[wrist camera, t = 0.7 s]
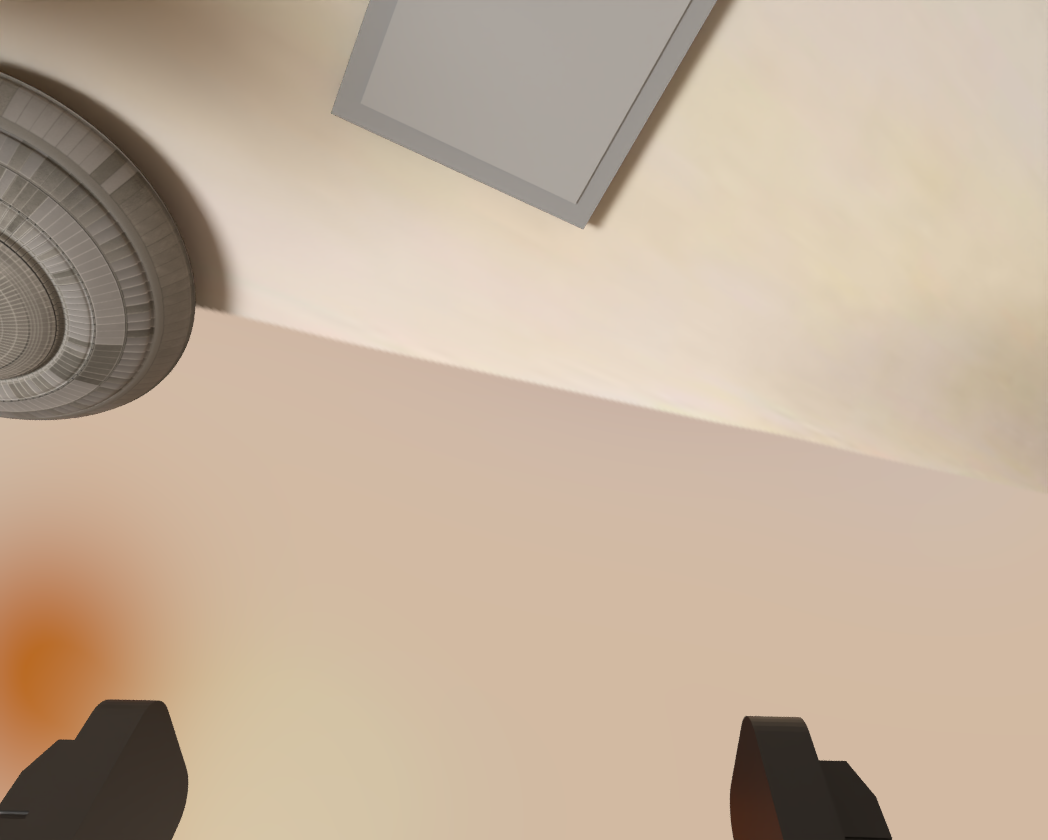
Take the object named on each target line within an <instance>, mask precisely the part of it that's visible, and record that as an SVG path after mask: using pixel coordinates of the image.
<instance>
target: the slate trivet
mask: <svg viewBox="0 0 1048 840" xmlns="http://www.w3.org/2000/svg"><path fill="white" fill-rule="evenodd" d="M716 1H717V0H370V1H369V4H368V7H367V10H366V13H365V16H364V19H363V22H362V24H361V27H360V30H359V33H358V36H357V39H356V42H355V45H354V48H353V51H352V53H351V56H350V59H349V62H348V65H347V68H346V71H345V74H344V77H343V80H342V82H341V85H340V88H339V91H338V94H337V97H336V100H335V103H334V106H333V109H332V111H331V114H333V115H335V116H338V117H340V118H342V119H344V120H346V121H348V122H351V123H353V124H355V125H357V126H359V127H361V128H364V129H366V130H368V131H370V132H372V133H375V134H377V135H379V136H381V137H383V138H385V139H388V140H390V141H392V142H394V143H396V144H398V145H401V146H403V147H405V148H407V149H409V150H412V151H414V152H416V153H418V154H420V155H422V156H425V157H427V158H429V159H431V160H433V161H435V162H438V163H440V164H442V165H444V166H446V167H449V168H451V169H453V170H455V171H457V172H459V173H462V174H464V175H466V176H468V177H470V178H472V179H475V180H477V181H479V182H481V183H483V184H486V185H488V186H490V187H492V188H494V189H496V190H499V191H501V192H503V193H505V194H507V195H509V196H512V197H514V198H516V199H518V200H520V201H523V202H525V203H527V204H529V205H531V206H533V207H536V208H538V209H540V210H542V211H544V212H546V213H549V214H551V215H553V216H555V217H557V218H560V219H562V220H564V221H566V222H568V223H570V224H573V225H575V226H577V227H579V228H581V229H584V227H585V226H586V224H587V222H588V221H589V219H590V217H591V215H592V214H593V212H594V210H595V209H596V207H597V205H598V203H599V202H600V200H601V198H602V197H603V195H604V193H605V191H606V190H607V188H608V186H609V185H610V183H611V181H612V179H613V178H614V176H615V174H616V173H617V171H618V169H619V167H620V166H621V164H622V162H623V161H624V159H625V157H626V155H627V154H628V152H629V150H630V149H631V147H632V145H633V143H634V142H635V140H636V138H637V137H638V135H639V133H640V131H641V130H642V128H643V126H644V125H645V123H646V121H647V119H648V118H649V116H650V114H651V113H652V111H653V109H654V107H655V106H656V104H657V102H658V101H659V99H660V97H661V95H662V94H663V92H664V90H665V89H666V87H667V85H668V83H669V82H670V80H671V78H672V77H673V75H674V73H675V71H676V70H677V68H678V66H679V65H680V63H681V61H682V59H683V58H684V56H685V54H686V53H687V51H688V49H689V47H690V46H691V44H692V42H693V41H694V39H695V37H696V35H697V34H698V32H699V30H700V29H701V27H702V25H703V24H704V22H705V20H706V18H707V17H708V15H709V13H710V12H711V10H712V8H713V6H714V5H715V3H716Z"/></svg>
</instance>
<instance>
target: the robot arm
mask: <svg viewBox="0 0 1048 840" xmlns="http://www.w3.org/2000/svg"><path fill="white" fill-rule="evenodd" d="M187 792H188V774H187V769H186V766H185V762H184V759H183V756H182V753H181V750H180V747H179V743H178V740H177V737H176V734H175V731H174V728H173V724H172V721H171V718H170V715H169V712H168V709H167V707H166V705H165V704H164V703H163V702H162V701H150V700H105V701H103V702H101V703H100V704H99V705H98V706H97V707H96V708H95V709H94V711H93V712H92V713H91V715H90V716H89V718H88V720H87V721H86V723H85V724H84V726H83V728H82V729H81V731H80V732H79V734H78V735H77V737H76V739H75V740H58V741H56V742H55V743H54V744H53V745H52V746H51V747H50V748H48V750H46V751H45V752H44V753H43V754H42V755H40V756H39V757H38V758H37V759H36V760H35V761H34V762H33V763H31V764H30V765H29V766H28V767H27V768H26V769H25V770H23V771H22V772H21V774H20V775H19V777H18V778H17V780H16V781H15V783H14V784H13V786H12V788H11V789H10V790H9V791H8V793H7V794H6V796H5V797H4V799H3V800H2V802H1V803H0V840H172V838H173V835H174V833H175V831H176V829H177V827H178V824H179V822H180V819H181V817H182V814H183V811H184V808H185V804H186V799H187ZM730 814H731V825H732V832H733V838H734V840H892V837H891V834H890V832H889V829H888V826H887V824H886V822H885V819H884V816H883V814H882V811H881V809H880V806H879V804H878V801H877V798H876V796H875V795H874V794H873V793H872V792H871V790H870V789H869V788H868V787H867V786H866V784H865V783H864V782H863V781H862V780H861V778H860V777H859V776H858V775H857V774H856V772H855V771H854V770H853V769H852V768H851V767H850V765H849V764H848V763H847V762H846V761H820V760H818V757H817V754H816V751H815V748H814V745H813V742H812V739H811V736H810V733H809V730H808V728H807V726H806V724H805V722H804V721H803V719H802V718H799V717H761V716H746V717H744V719H743V721H742V726H741V731H740V737H739V743H738V748H737V754H736V760H735V765H734V771H733V776H732V783H731V789H730Z"/></svg>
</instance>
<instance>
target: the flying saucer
mask: <svg viewBox="0 0 1048 840" xmlns="http://www.w3.org/2000/svg"><path fill="white" fill-rule="evenodd" d="M194 314H195V286H194V278H193V273H192V268H191V264H190V260H189V257H188V253H187V250H186V248H185V245H184V242H183V240H182V237H181V235H180V233H179V230H178V228H177V226H176V224H175V222H174V220H173V218H172V217H171V215H170V213H169V211H168V210H167V208H166V206H165V205H164V203H163V201H162V200H161V198H160V197H159V195H158V194H157V192H156V191H155V190H154V188H153V187H152V186H151V184H150V183H149V181H148V180H147V179H146V178H145V177H144V175H143V174H142V173H141V172H140V170H139V169H138V168H137V167H136V166H135V165H134V164H133V163H132V161H131V160H130V159H129V158H128V157H127V156H126V155H125V154H124V153H123V152H122V151H121V150H120V149H119V148H118V147H117V146H116V145H115V144H114V143H112V142H111V141H110V140H109V139H108V138H107V137H106V136H105V135H104V134H102V133H101V132H100V131H99V130H98V129H96V128H95V127H94V126H93V125H91V124H90V123H89V122H87V121H86V120H85V119H83V118H82V117H81V116H79V115H78V114H77V113H75V112H74V111H72V110H71V109H69V108H68V107H66V106H65V105H63V104H62V103H60V102H59V101H57V100H55V99H54V98H52V97H50V96H49V95H47V94H45V93H43V92H42V91H40V90H38V89H36V88H34V87H32V86H30V85H28V84H26V83H24V82H22V81H20V80H18V79H16V78H14V77H11V76H9V75H7V74H4V73H2V72H0V417H4V418H12V419H24V420H57V419H69V418H77V417H83V416H89V415H93V414H98V413H101V412H105V411H108V410H111V409H114V408H117V407H119V406H122V405H125V404H127V403H129V402H131V401H133V400H135V399H137V398H139V397H141V396H142V395H144V394H145V393H147V392H149V391H150V390H151V389H153V388H154V387H155V386H157V385H158V384H159V383H160V382H161V381H162V380H163V379H164V378H165V377H166V376H167V375H168V374H169V373H170V372H171V370H172V369H173V368H174V367H175V365H176V364H177V362H178V361H179V359H180V358H181V356H182V353H183V352H184V350H185V348H186V346H187V343H188V341H189V338H190V335H191V331H192V327H193V322H194Z"/></svg>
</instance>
